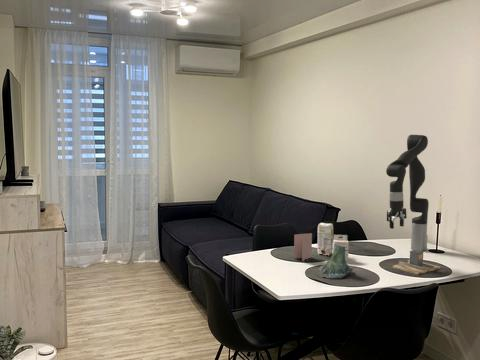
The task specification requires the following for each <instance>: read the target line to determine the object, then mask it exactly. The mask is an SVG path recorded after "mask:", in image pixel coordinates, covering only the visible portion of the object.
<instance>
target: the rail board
mask: <svg viewBox="0 0 480 360" xmlns="http://www.w3.org/2000/svg"><path fill="white" fill-rule="evenodd" d="M392 268H394V269H396V268H397V270H399V269H400V271H403V272H407V273H409V274H413V275H417V276H418V275H421V274H425V273H428V272H433V271H436V270H440V269H441V266H438V265H434V264H431V263H426V262H423V267H419V266H416V265H412V264H410V258H409V259H407V262H404V261H398V264H394V265H392Z"/></svg>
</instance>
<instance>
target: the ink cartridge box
mask: <svg viewBox="0 0 480 360" xmlns="http://www.w3.org/2000/svg"><path fill="white" fill-rule="evenodd" d="M349 243H350V242H349V240H348V235H347V234H333V250H334V244H336V245H340V246H343V247H345V261H346V262H349Z"/></svg>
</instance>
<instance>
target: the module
mask: <svg viewBox="0 0 480 360" xmlns="http://www.w3.org/2000/svg"><path fill="white" fill-rule="evenodd" d="M409 259H410V264H412V265H416V266H419V267H423V263H424V251H419V250H412V249H411V250H410V251H409Z"/></svg>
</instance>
